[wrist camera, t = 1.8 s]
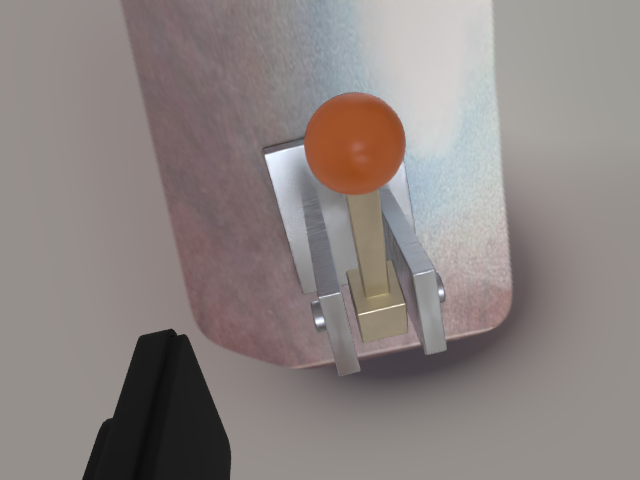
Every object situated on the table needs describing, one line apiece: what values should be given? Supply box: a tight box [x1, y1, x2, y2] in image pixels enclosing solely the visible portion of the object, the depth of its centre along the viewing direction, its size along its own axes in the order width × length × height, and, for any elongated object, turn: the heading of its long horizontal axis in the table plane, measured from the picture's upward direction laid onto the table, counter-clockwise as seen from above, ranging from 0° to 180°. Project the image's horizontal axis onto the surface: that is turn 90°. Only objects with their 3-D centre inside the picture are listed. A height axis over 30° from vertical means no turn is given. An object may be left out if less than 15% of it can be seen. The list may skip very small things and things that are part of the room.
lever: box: [304, 92, 408, 343], centre depth 21 cm, size 13×3×3 cm, turn 14°
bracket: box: [264, 139, 447, 376], centre depth 29 cm, size 10×8×13 cm
